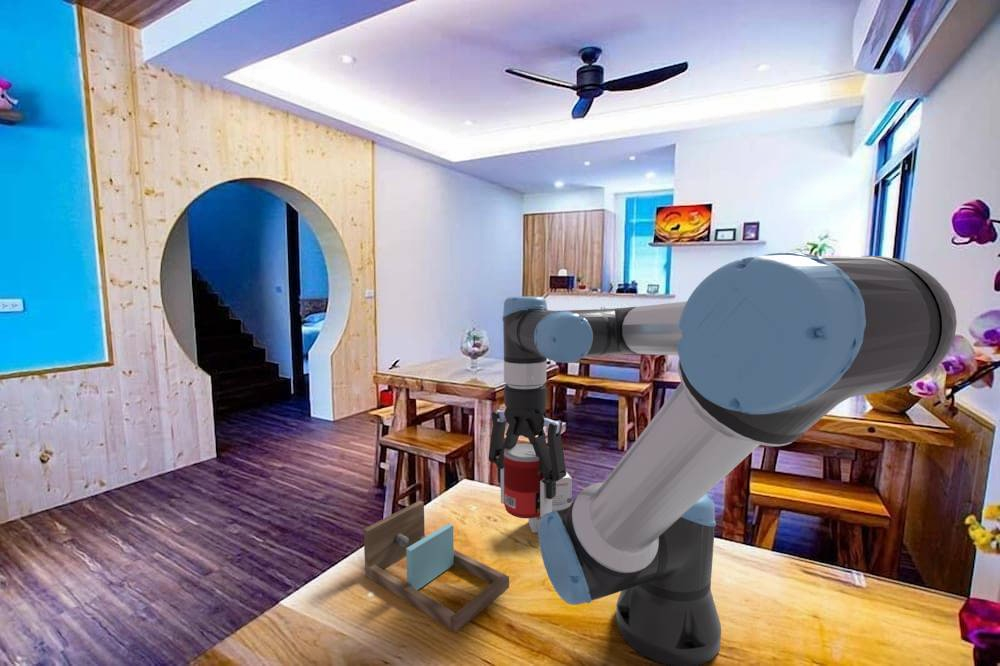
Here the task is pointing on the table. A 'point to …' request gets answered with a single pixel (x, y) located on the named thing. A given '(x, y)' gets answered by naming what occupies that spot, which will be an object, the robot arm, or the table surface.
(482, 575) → the brown open rectangular frame
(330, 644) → the table surface
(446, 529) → the panel
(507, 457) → the canned food
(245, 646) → the table surface
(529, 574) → the table surface
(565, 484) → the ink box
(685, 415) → the robot arm
